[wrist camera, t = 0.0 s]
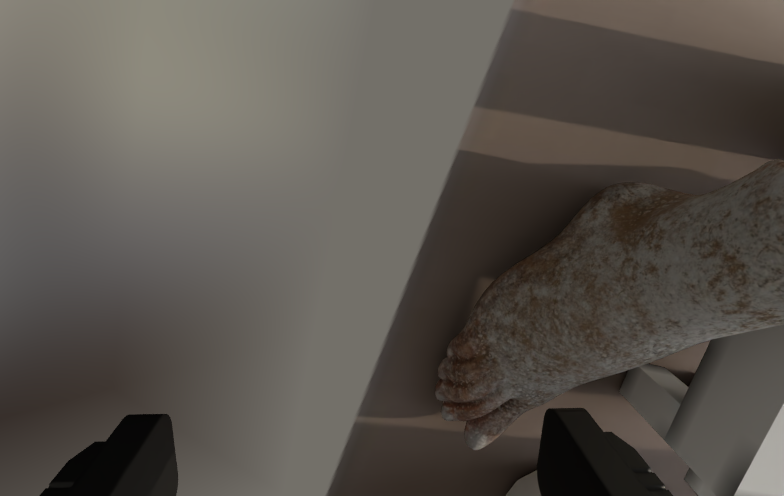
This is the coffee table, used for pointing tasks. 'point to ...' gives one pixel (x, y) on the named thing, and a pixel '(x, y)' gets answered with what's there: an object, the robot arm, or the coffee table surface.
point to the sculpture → (618, 296)
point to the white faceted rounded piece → (526, 486)
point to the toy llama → (722, 414)
